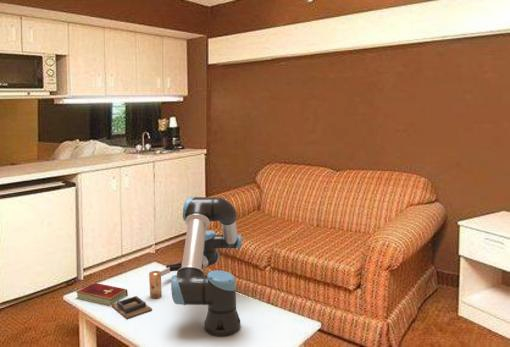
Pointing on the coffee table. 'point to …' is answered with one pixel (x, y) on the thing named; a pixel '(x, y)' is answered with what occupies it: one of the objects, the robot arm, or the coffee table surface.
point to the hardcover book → (102, 293)
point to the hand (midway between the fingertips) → (169, 276)
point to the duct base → (131, 307)
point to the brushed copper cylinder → (155, 284)
